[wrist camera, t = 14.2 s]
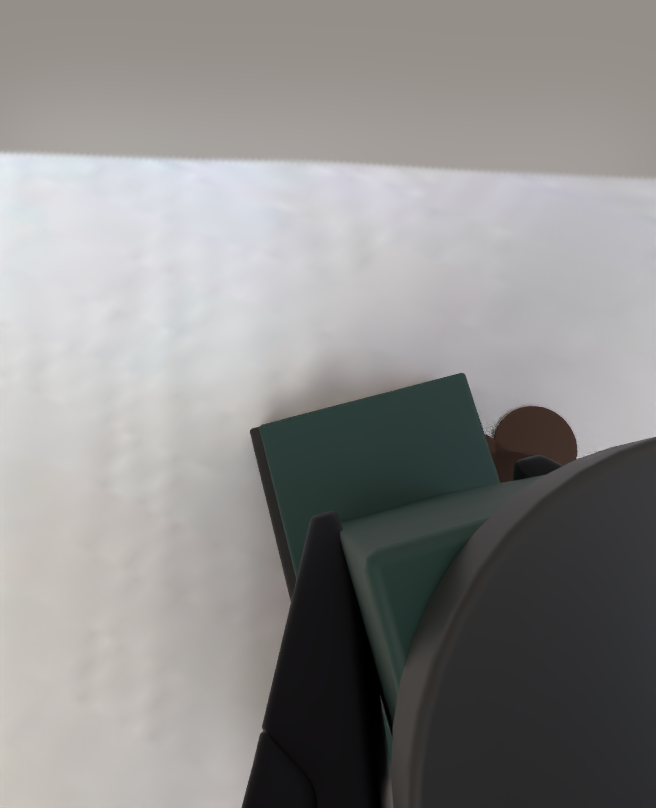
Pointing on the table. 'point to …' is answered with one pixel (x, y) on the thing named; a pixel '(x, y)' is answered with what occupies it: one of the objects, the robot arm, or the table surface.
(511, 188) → the table surface
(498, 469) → the coffee spill
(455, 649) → the wiper
